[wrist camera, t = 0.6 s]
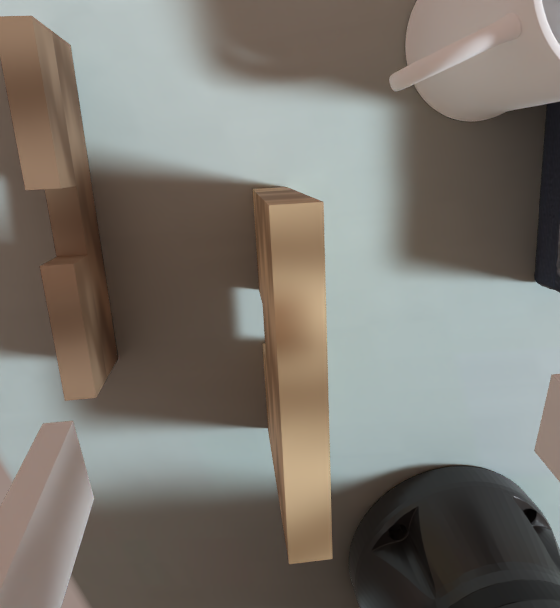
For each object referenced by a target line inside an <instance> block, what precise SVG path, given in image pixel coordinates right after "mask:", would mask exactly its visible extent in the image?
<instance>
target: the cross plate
mask: <svg viewBox="0 0 560 608" xmlns="http://www.w3.org/2000/svg"><path fill="white" fill-rule="evenodd" d="M253 204H254V219H255V235H256V250H257V266H258V282H259V292H260V296H261V300H262V303H263V316H264V332H265V343H262V344H263V359H264V375H265V391H266V406H267V422H268V432H269V439H270V445H271V452H272V458H273V465H274V471H275V477H276V484H277V490H278V497H279V503H280V510H281V516H282V523H283V529H284V536H285V542H286V549H287V555H288V562H289V564H296V563H304V562H312V561H320V560H329V559H332V521H331V482H330V443H329V404H328V365H327V326H326V287H325V248H324V209H323V202H322V201H320V200H317V199H315V198H312V197H310V196H307V195H305V194H302V193H300V192H297V191H295V190H292V189H290V188H287V187H276V188H258V189H253Z"/></svg>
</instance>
